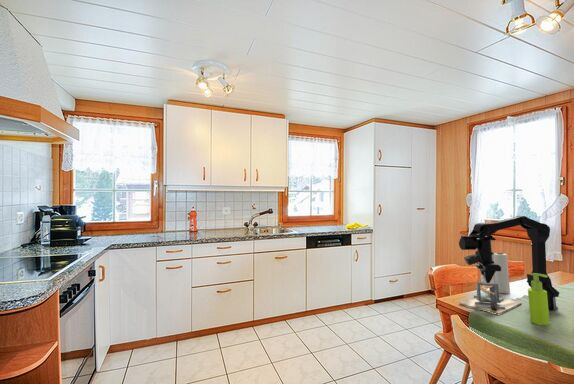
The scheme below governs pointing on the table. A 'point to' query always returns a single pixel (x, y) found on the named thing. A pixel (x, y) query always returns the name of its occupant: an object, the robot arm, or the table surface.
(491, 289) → the wooden crank handle
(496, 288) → the grey boxy piece
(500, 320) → the table surface
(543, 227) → the robot arm
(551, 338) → the table surface
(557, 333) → the table surface
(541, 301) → the soap dispenser
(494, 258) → the paper towel roll
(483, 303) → the beige rectangular panel
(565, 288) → the table surface
